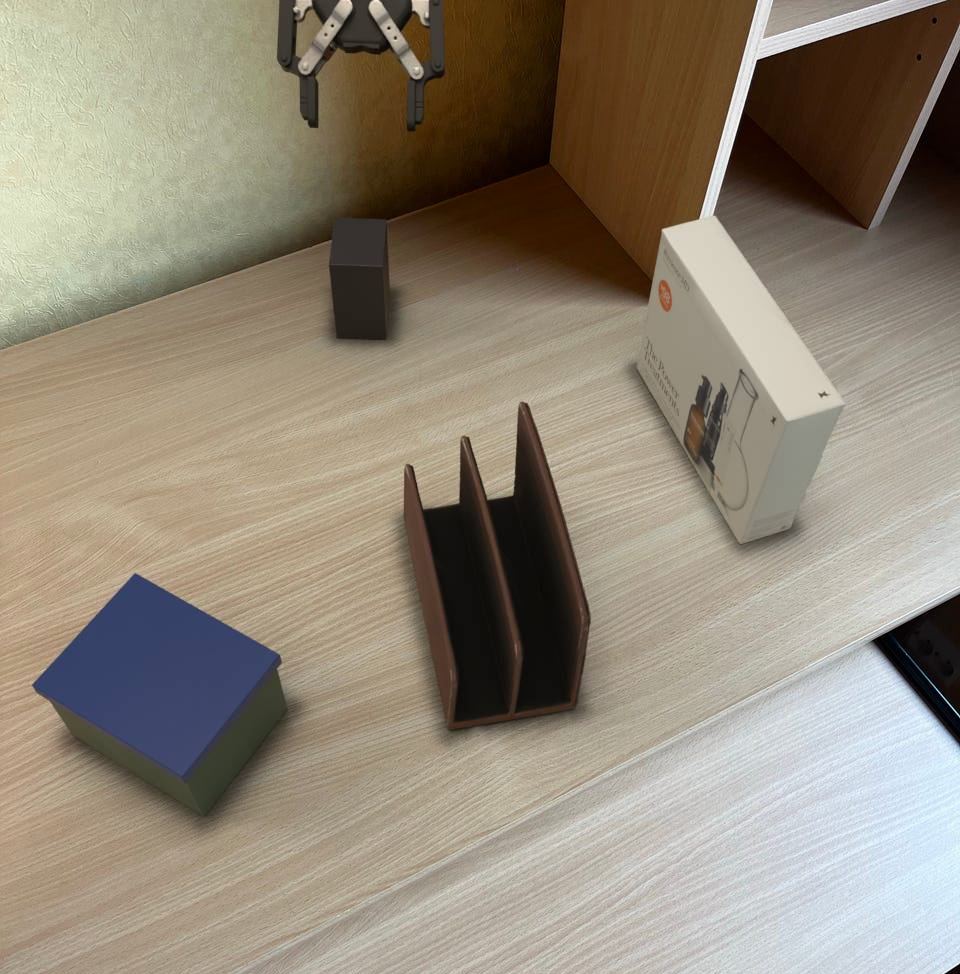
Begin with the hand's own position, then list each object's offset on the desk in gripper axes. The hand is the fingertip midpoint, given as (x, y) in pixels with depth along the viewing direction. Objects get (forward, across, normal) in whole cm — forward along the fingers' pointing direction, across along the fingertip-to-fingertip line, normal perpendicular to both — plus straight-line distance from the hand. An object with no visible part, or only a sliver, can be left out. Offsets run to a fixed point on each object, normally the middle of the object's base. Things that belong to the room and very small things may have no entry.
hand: (361, 128), depth 95 cm
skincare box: (+26, -31, +7) cm, 41 cm away
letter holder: (+38, -12, +20) cm, 45 cm away
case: (+16, 0, -3) cm, 16 cm away
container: (+46, +11, +27) cm, 54 cm away
